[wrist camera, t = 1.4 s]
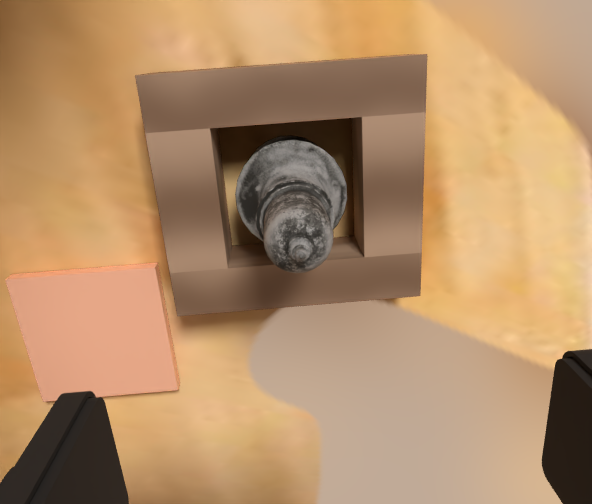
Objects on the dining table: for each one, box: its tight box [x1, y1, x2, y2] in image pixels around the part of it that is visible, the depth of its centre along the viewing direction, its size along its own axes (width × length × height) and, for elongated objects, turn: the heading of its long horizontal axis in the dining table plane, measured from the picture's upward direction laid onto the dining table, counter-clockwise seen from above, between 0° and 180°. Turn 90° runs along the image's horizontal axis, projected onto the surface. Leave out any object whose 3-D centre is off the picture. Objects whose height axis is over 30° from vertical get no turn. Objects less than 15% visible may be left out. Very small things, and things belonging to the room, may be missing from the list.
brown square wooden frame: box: [135, 54, 427, 316], centre depth 28 cm, size 13×14×4 cm
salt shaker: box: [235, 135, 347, 273], centre depth 24 cm, size 6×6×12 cm
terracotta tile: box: [5, 263, 180, 402], centre depth 32 cm, size 9×9×1 cm
